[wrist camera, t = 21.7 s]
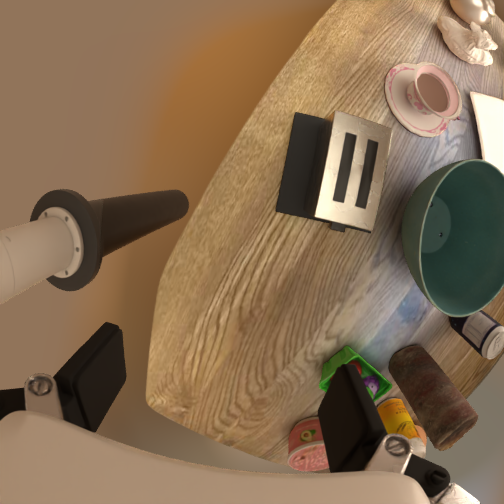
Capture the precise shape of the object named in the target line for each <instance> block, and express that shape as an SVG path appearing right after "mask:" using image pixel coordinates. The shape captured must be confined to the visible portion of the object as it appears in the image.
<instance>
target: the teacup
mask: <svg viewBox="0 0 504 504" xmlns="http://www.w3.org/2000/svg"><path fill="white" fill-rule="evenodd" d="M384 89H385V94H386V100H387V102H388V104H389V106H390V109H391V111H392V113H393V114H394V115H395V117H396V118H397V119H398V121H399V122H400V123H401V124H402V125H403V126H404V127H405V128H407V129H408V130H409V131H410V132H412V133H414V134H417V135H419V136H421V137H430V138H431V137H434V136H437V135H440V134H441V133H442V132H443V131H444V130H445V129H446V128H447V126H448V123H449V121H450V120H454V121H455V120H456V118H457V119H458V120H460V119H459V115H460V113H461V110H462V99H461V95H460V92H459V90H458V87H457V85H456V84H455V82H454V81H453V79H452V78H451V77H450V75H449V74H448V73H447V72H446V71H445V70H443V69H442V68H441V67H439V66H438V65H436V64H434V63H431V62H421V63H419V64H418V65H417V64H412V63H400V64H397V65H396V66H394V67H393V68H391V69H390V71H389V72H388V74H387V76H386V78H385V87H384Z"/></svg>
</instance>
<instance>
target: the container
mask: <svg viewBox="0 0 504 504" xmlns="http://www.w3.org/2000/svg"><path fill="white" fill-rule="evenodd" d="M288 464H289V466H290V467H292V468H293V469H296V470H299V471H318V470H323V469H326V468H329V464H328V459H327V455H326V450H325V445H324V440H323V436H322V431H321V426H320V422H319V417H311V418H307V419H304V420H302V421H300V422H298V423H297V424H296V425H295V427H294V428H293V430H292V431H291V433H290V435H289V455H288Z"/></svg>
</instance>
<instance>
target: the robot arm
mask: <svg viewBox="0 0 504 504" xmlns="http://www.w3.org/2000/svg"><path fill="white" fill-rule="evenodd" d="M83 255H84V243H83V237H82V233H81V230H80V227H79V225H78V223H77V221H76V220H75V218H74V217H73V215H72V214H71V213H70V212H69V211H67V210H66V209H64V208H61V207H52V208H48V209H46V210H45V211H44V212H42V214H41V215H40V216H39V218H38V220H36V221H32V222H29V223H25V224H21V225H18V226H14V227H10V228H7V229H4V230H0V305H1V304H2V303H4V302H6V301H7V300H9V299H11V298H13V297H14V296H16V295H18V294H19V293H21V292H23V291H25V290H27V289H28V288H30V287H32V286H34V285H35V284H37V283H39V282H41V281H43V280H44V279H46V278H48V277H50V276H52V275H54V276H56V277H60V278H66V277H69V276H71V275H73V274H74V273H75V272H76V271H77V270H78V269H79V267H80V265H81V263H82V260H83ZM125 381H126V368H125V359H124V347H123V334H122V330H121V329H119V326H118V325H115V324H112V323H108V322H105V323H104V324H103V325H102V326H101V327H100V328H99V329H98V330H97V331H96V332H95V333H94V335H92V336H91V338H90V339H89V340H88V341H87V342H86V343H85V344H84V345H83V346H81V347H80V348H79V349H78V351H77V352H76V353H75V354H74V355H73V356H72V357H71V358H70V359H69V360H68V361H67V362H66V363H65V365H64V366H63V367H62V368H61V369H60V370H59V371H58V372H57V373H56V374H55V376H54V377H51V376H50V375H47V374H44V373H38V374H34V375H32V376H30V377H29V378H28V379H27V380H26V382H25V386H24V388H17V389H8V390H0V504H480V502H479V501H478V500H477V499H476V498H474V497H473V496H472V495H470V494H469V493H468V492H466V491H465V490H464V489H462V488H461V487H460V486H458V485H457V484H456V483H455V482H454V483H453V484H451V483H450V475H449V473H448V471H447V470H446V469H444V468H442V467H441V466H439V465H436V464H434V463H432V462H429V461H427V460H425V459H423V458H421V457H419V456H417V455H415V454H413V453H412V452H413V446H412V443H411V441H410V440H409V439H408V438H407V437H405V436H403V435H401V434H397V433H392V434H388V433H387V431H386V428H385V426H384V424H383V422H382V419H381V417H380V415H379V413H378V410H377V408H376V406H375V404H374V402H373V399H372V397H371V395H370V394H369V392H368V390H367V388H366V386H365V383H364V381H363V379H362V377H361V375H360V373H359V371H358V369H357V367H356V365H355V364H342V365H341V366H340V367H337V369H336V371H335V373H334V376H333V378H332V380H331V383H330V385H329V387H328V389H327V392H326V394H325V396H324V398H323V400H322V402H321V405H320V407H319V409H318V417H319V422H320V426H321V431H322V436H323V440H324V445H325V450H326V455H327V459H328V464H329V469H330V472H331V473H318V474H282V473H263V472H251V471H240V470H232V469H225V468H218V467H212V466H206V465H200V464H195V463H190V462H186V461H181V460H177V459H173V458H168V457H164V456H161V455H157V454H153V453H150V452H147V451H143V450H140V449H137V448H134V447H131V446H128V445H125V444H122V443H119V442H117V441H114V440H111V439H108V438H106V437H103V436H101V435H98V434H95V433H94V432H96V431H97V429H98V427H99V425H100V424H101V422H102V420H103V419H104V417H105V415H106V413H107V412H108V410H109V408H110V406H111V405H112V403H113V401H114V400H115V398H116V396H117V395H118V393H119V391H120V389H121V388H122V386H123V385H124V383H125Z"/></svg>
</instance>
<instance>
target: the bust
mask: <svg viewBox="0 0 504 504" xmlns="http://www.w3.org/2000/svg"><path fill="white" fill-rule="evenodd" d="M437 26H438V28H439V29H440V31H441V32H442V34H443V40H444V41H445V43H446V44H447V46H448V48H449V49H450V50H451V51H452V52H453V53H454V54H455V55H456V56H457V57H459V58H460V59H461V60H464V61H466V62H468V63H470V64H474V63H475V64H481V65H485V66H487V65H490V64H492V62H493V59H492V56H491V54H490V53H489V50H490V49H491V50H495V49H497V48H498V46H497V44H496V43H495V42H494V41H493V40H492V39H491V36H490V35H489V33H488V32H487V31H485V30H482V29H481V27H480V26H479V25H478V24H475V23H474V22H473V21H472V22H470V28H471V30H469V29H466V28H464V27H462V26H461V25H460V24H458V23H457V22H456V21H455V20H454V19H452V18H450V17H446V16H440V17H439V18H438V21H437Z"/></svg>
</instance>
